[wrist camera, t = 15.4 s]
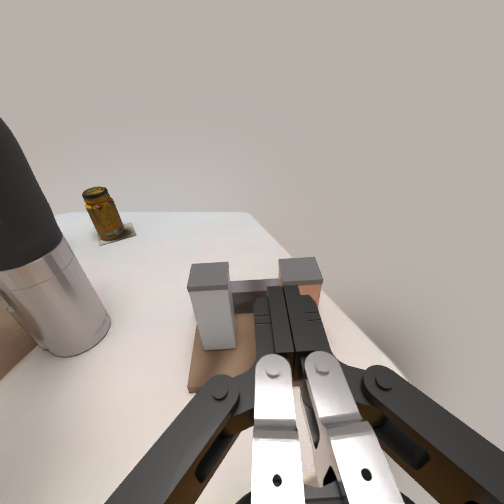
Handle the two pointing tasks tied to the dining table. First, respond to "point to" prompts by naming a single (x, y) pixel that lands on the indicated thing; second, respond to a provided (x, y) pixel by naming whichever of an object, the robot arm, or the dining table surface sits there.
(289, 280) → the orange-brown tall block
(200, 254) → the dining table surface
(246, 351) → the base
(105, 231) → the condiment
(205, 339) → the grey tall block
